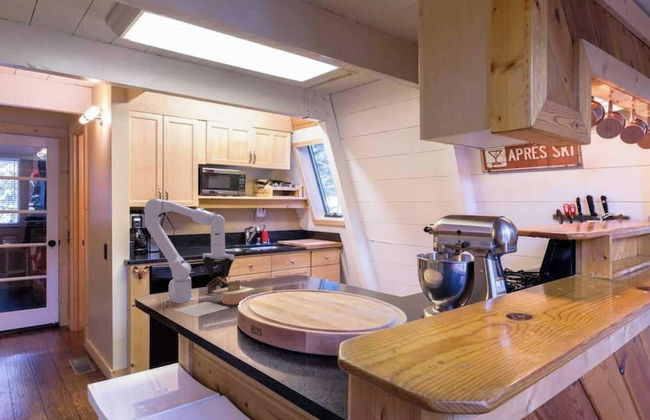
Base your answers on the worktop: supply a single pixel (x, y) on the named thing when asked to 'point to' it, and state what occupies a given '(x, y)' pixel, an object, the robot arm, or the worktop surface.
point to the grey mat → (201, 309)
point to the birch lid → (234, 289)
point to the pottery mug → (217, 284)
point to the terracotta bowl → (233, 298)
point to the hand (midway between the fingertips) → (218, 275)
